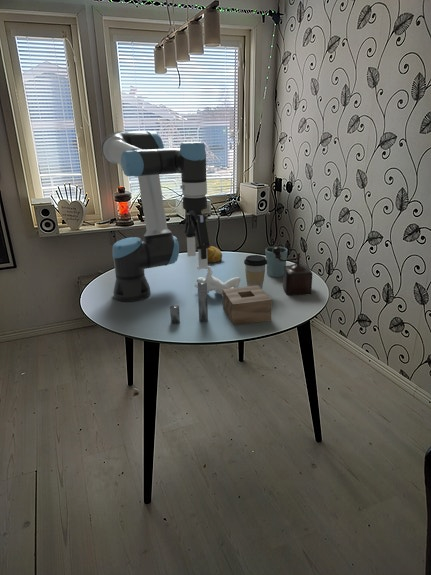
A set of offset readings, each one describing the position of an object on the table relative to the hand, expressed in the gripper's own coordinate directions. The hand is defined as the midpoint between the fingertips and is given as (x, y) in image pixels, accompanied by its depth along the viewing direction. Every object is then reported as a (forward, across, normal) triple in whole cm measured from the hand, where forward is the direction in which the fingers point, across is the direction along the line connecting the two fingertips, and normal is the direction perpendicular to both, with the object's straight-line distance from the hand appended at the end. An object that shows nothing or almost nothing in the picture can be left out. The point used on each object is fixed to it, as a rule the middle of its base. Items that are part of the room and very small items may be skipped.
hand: (197, 261), depth 124 cm
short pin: (+23, -4, -8) cm, 25 cm away
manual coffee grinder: (+23, -16, +45) cm, 53 cm away
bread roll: (+24, -68, +27) cm, 77 cm away
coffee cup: (+23, -19, +30) cm, 43 cm away
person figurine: (+24, -21, +14) cm, 35 cm away
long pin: (+23, -2, +2) cm, 23 cm away
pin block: (+23, -1, +18) cm, 29 cm away
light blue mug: (+24, -36, +48) cm, 64 cm away
